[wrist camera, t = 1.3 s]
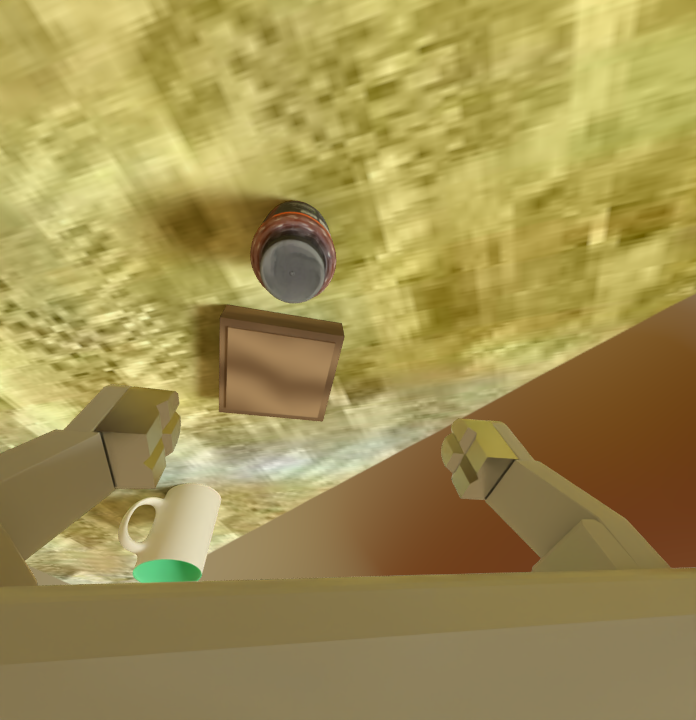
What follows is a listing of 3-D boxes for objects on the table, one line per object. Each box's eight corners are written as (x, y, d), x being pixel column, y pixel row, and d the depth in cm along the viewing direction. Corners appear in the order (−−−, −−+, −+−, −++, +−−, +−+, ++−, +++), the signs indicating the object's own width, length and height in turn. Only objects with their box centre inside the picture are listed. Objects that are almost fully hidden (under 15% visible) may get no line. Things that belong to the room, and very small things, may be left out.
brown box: (227, 304, 31) (219, 318, 28) (341, 323, 33) (344, 338, 30) (225, 394, 37) (218, 413, 34) (321, 405, 39) (322, 423, 37)
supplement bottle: (272, 271, 29) (254, 323, 20) (256, 203, 26) (226, 227, 17) (333, 264, 30) (344, 312, 20) (325, 195, 26) (334, 214, 17)
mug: (129, 494, 45) (87, 573, 36) (155, 466, 42) (115, 544, 34) (204, 518, 50) (182, 592, 42) (231, 495, 48) (213, 568, 39)
